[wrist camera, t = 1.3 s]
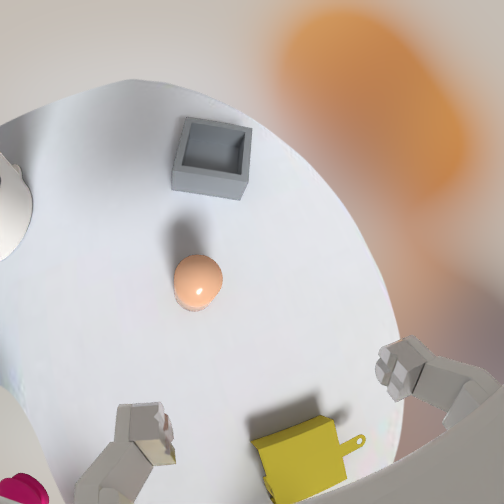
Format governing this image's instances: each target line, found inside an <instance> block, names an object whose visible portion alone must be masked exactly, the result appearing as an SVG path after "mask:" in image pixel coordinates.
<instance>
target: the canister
mask: <svg viewBox="0 0 504 504" xmlns="http://www.w3.org/2000/svg"><path fill="white" fill-rule="evenodd" d="M222 281H223V277H222V272H221V269H220V267H219V266H218V264H217V263H216V262H215V261H214V260H213V259H211V258H209V257H207V256H204V255H191V256H188V257H186V258H185V259H183V260H182V261H181V262H180V263H179V264H178V266H177V268H176V270H175V274H174V294H175V298H176V300H177V302H178V304H179V305H180V306H181V307H182V308H184V309H186V310H188V311H200V310H203V309H205V308H206V307H207V306H208V305H209V304H210V303H211V302H212V300H213V299H214V298H215V296H216V295H217V294H218V292H219V291H220V289H221V286H222Z"/></svg>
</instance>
